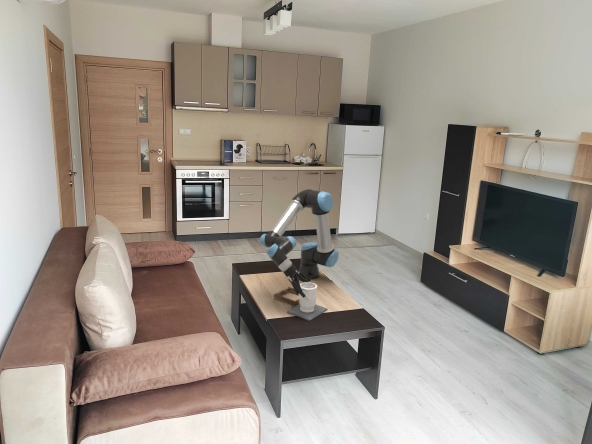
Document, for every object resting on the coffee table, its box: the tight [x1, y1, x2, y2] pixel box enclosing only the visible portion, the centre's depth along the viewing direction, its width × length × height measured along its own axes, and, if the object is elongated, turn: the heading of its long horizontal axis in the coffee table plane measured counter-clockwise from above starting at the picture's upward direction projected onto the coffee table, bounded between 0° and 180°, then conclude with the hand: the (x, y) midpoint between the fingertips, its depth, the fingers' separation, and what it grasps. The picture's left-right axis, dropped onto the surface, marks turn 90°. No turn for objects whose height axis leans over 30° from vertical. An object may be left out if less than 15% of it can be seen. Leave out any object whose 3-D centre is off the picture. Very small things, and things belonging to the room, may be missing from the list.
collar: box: [273, 286, 300, 307], centre depth 277 cm, size 15×16×3 cm
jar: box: [298, 281, 318, 313], centre depth 259 cm, size 11×10×15 cm
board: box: [286, 303, 328, 322], centre depth 261 cm, size 18×16×1 cm
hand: (312, 296), depth 258 cm, fingers open, 13 cm apart
